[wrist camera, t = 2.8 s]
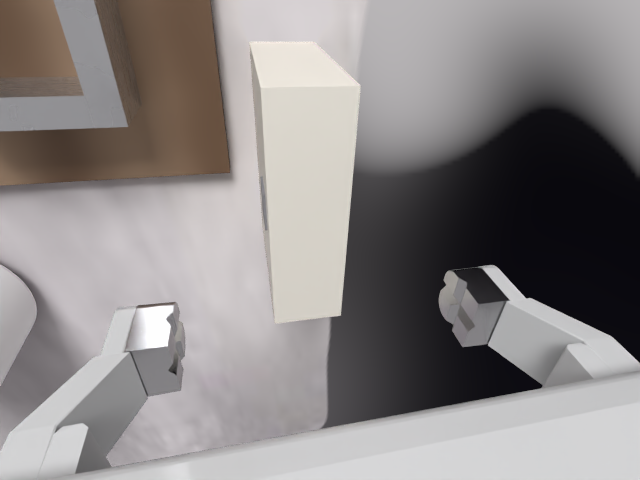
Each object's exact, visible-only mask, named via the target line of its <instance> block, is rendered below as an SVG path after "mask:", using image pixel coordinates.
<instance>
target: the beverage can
mask: <svg viewBox="0 0 640 480" xmlns="http://www.w3.org/2000/svg"><path fill="white" fill-rule="evenodd" d="M36 316H37V306H36V302H35V299H34V297H33V295H32V293H31V291H30V290H29V288H28V287H27V286H26V284H25V283H24V282H23V281H22V280H21V279H20V278H19V277H18V276H17V275H15V274H14V273H13V272H12V271H10V270H9V269H7V268H6V267H4V266H3V265H1V264H0V386H1V384H2V383H3V381H4V379H5V377H6V375H7V373H8V371H9V370H10V368H11V366H12V364H13V362H14V360H15V358H16V357H17V355H18V353H19V351H20V349H21V347H22V345H23V344H24V342H25V340H26V338H27V336H28V334H29V332H30V331H31V329H32V327H33V325H34V323H35V320H36Z"/></svg>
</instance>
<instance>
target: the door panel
mask: <svg viewBox="0 0 640 480" xmlns="http://www.w3.org/2000/svg"><path fill="white" fill-rule="evenodd" d="M249 45H250V59H251V73H252V87H253V101H254V115H255V129H256V143H257V157H258V171H259V185H260V199H261V213H262V226H263V234H264V242H265V250H266V258H267V266H268V274H269V282H270V290H271V298H272V306H273V314H274V322H275V324H276V323H285V322H293V321H301V320H309V319H317V318H325V317H333V316H340V315H341V305H342V304H341V303H342V294H343V281H344V270H345V260H346V248H347V237H348V225H349V213H350V202H351V191H352V179H353V168H354V156H355V144H356V134H357V122H358V111H359V100H360V88H361V86H360V85H359V84H358V83H357V82H356V81H355V80H354V79H353V78H352V77H351V76H350V75H349V74H348V73H347V72H346V71H345V70H343V69H342V68H341V67H340V66H339V65H338V64H337V63H336V62H335V61H334V60H333V59H332V58H331V57H330V56H329V55H328V54H327V53H326V52H324V51H323V50H322V49H321V48H320V47H319V46H318V45H317V44H316V43H315V42H249Z"/></svg>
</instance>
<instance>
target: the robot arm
mask: <svg viewBox="0 0 640 480" xmlns="http://www.w3.org/2000/svg"><path fill="white" fill-rule="evenodd" d="M444 282H445V283H446V286H445V287H444V288H443V289H442V290H441V292H440V296H439V307H440V310H441V313H442V315H443V316H444V318H445V319H446V320H447V321H448V322H450V323H452V324H453V329H452V331H453V332H454V334H455V336H456V337H457V339H458V340H459V342H460V343H461V345H462V347H467V346H475V345H483V344H488V346H490V347H491V348H493V349H494V350H495V351H497V352H498V353H499V354H501V355H502V356H504V357H505V358H506V359H508V360H509V361H510V362H512V363H513V364H515V365H516V366H517V367H519V368H520V369H521V370H523V371H524V372H526V373H527V374H528V375H530V376H531V377H533V378H534V379H535V380H537V381H538V382H539V383H541V384H542V385H543V386H542V388H541V389H536V390H531V391H526V392H520V393H514V394H509V395H503V396H498V397H492V398H487V399H482V400H477V401H471V402H466V403H460V404H455V405H450V406H444V407H438V408H433V409H427V410H422V411H417V412H411V413H406V414H400V415H395V416H390V417H384V418H379V419H373V420H368V421H363V422H357V423H351V424H346V425H340V426H335V427H330V428H324V429H318V430H313V431H307V432H302V433H296V434H291V435H285V436H280V437H274V438H269V439H263V440H258V441H253V442H247V443H242V444H236V445H231V446H225V447H220V448H214V449H209V450H203V451H198V452H193V453H187V454H182V455H176V456H171V457H165V458H160V459H154V460H149V461H143V462H138V463H132V464H127V465H122V466H116V467H111V465H110V464H109V462H108V460H107V458H106V455H107V454H108V453H109V451H110V450H111V449H112V447H113V446H114V444H115V443H116V442H117V440H118V439H119V438H120V436H121V435H122V433H123V432H124V431H125V429H126V428H127V427H128V425H129V424H130V422H131V421H132V420H133V418H134V417H135V416H136V414H137V413H138V411H139V410H140V409H141V407H142V406H143V405H144V403H145V402H146V400H147V399H148V396H154V395H159V394H165V393H170V392H176V391H181V385H182V377H183V367H182V363H181V360H182V359H183V357H184V356H185V332H184V327H183V323H182V322H180V321H179V314H180V311H179V307H178V304H177V303H176V302H170V303H159V304H148V305H138V306H131V307H120V308H117V310H116V311H115V312H114V315H113V318H112V321H111V324H110V327H109V330H108V333H107V336H106V339H105V342H104V346H103V349H102V352H101V355H100V356H96V357H93V358H92V359H91V360H90V361H89V362H88V363H87V364H85V365H84V366H83V367H82V368H81V369H80V370H79V371H78V372H77V373H75V374H74V375H73V376H72V377H71V378H70V379H69V380H68V381H67V382H65V383H64V384H63V385H62V386H61V387H60V388H59V389H58V390H57V391H55V392H54V393H53V394H52V395H51V396H50V397H49V398H48V399H47V400H46V401H44V402H43V403H42V404H41V405H40V406H39V407H38V408H37V409H36V410H34V411H33V412H32V413H31V414H30V415H29V416H28V417H27V418H26V419H24V420H23V421H22V422H21V423H20V424H19V425H18V426H17V427H16V428H14V429H13V430H12V431H11V432H10V433H9V435H8V437H7V439H6V441H5V443H4V445H3V447H2V450H1V452H0V480H640V363H639V362H638V361H637V360H636V359H635V358H634V357H633V356H632V355H630V354H629V353H628V352H627V351H626V350H625V349H624V348H623V347H622V346H621V345H620V344H619V343H618V342H617V341H616V340H615V339H613V337H611V336H609V335H607V334H605V333H603V332H601V331H599V330H597V329H595V328H592V327H590V326H588V325H586V324H584V323H582V322H580V321H577V320H575V319H573V318H571V317H569V316H567V315H565V314H563V313H561V312H558V311H556V310H554V309H552V308H550V307H548V306H546V305H544V304H542V303H539V302H537V301H535V300H533V299H531V298H529V299H526V298H525V297H524V296H523V295H522V294H521V293H520V292H519V290H518V289H517V288H516V287H515V286H514V285H513V284H512V283H511V282H510V281H509V280H508V279H507V277H506V276H505V275H504V274H503V273H502V272H501V271H500V270H499V269H498V268H497V267H496V266H494V265H489V266H481V267H476V268H475V267H474V268H466V269H458V270H450V271H448V272H447V273H446V274H445V278H444Z"/></svg>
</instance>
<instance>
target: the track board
mask: <svg viewBox="0 0 640 480" xmlns="http://www.w3.org/2000/svg"><path fill="white" fill-rule="evenodd" d="M117 2H118V6H119V10H120V14H121V18H122V22H123V27H124V31H125V35H126V39H127V43H128V48H129V52H130V56H131V60H132V64H133V68H134V73H135V77H136V81H137V85H138V89H139V94H140V98H141V102H142V105H141V107H140V108H139V110H138V112H137V113H136V115H135V116H134V118H133V120H132V121H131V123H130V125H129V126H128V127H114V128H85V129H56V130H27V131H0V186H1V185H19V184H37V183H54V182H72V181H90V180H108V179H126V178H143V177H161V176H179V175H197V174H214V173H230V162H229V154H228V145H227V137H226V128H225V120H224V111H223V103H222V94H221V86H220V77H219V69H218V60H217V52H216V43H215V35H214V27H213V18H212V10H211V1H210V0H117ZM15 77H78V75H77V72H76V69H75V66H74V62H73V59H72V56H71V53H70V50H69V47H68V44H67V41H66V38H65V35H64V31H63V28H62V25H61V22H60V19H59V16H58V13H57V10H56V7H55V3H54V0H0V78H15Z"/></svg>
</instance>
